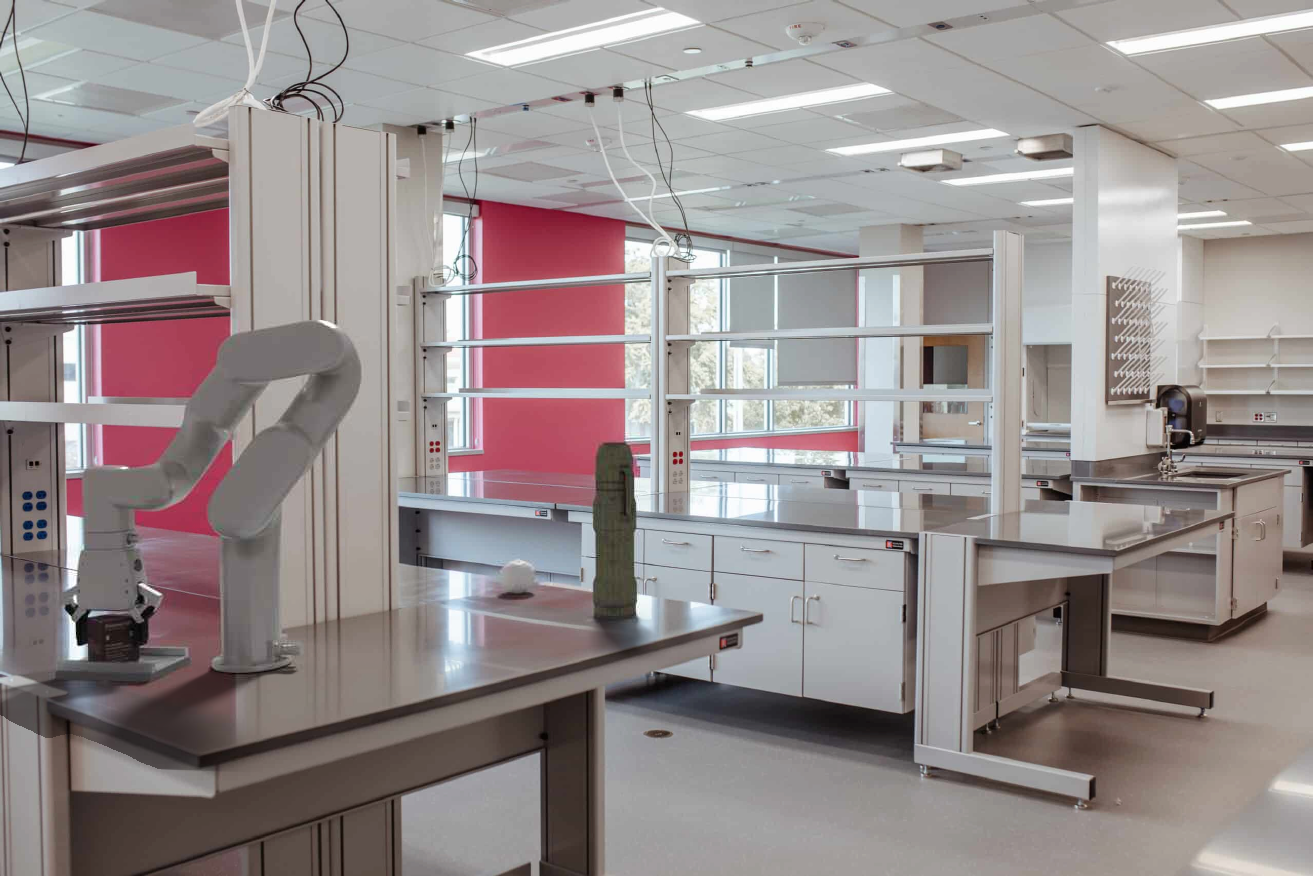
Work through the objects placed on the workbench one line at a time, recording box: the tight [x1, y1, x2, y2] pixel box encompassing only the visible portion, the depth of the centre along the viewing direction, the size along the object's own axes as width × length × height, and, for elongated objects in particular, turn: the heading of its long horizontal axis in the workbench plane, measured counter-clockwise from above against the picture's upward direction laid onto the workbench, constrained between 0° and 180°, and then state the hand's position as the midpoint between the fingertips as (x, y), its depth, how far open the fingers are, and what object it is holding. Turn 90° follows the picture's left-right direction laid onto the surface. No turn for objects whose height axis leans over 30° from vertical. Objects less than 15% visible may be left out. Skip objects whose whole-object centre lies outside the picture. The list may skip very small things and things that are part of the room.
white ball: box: [499, 559, 536, 595], centre depth 247 cm, size 8×8×8 cm
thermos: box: [592, 441, 638, 620], centre depth 223 cm, size 9×12×35 cm
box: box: [87, 611, 140, 661], centre depth 181 cm, size 6×6×7 cm
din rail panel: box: [54, 645, 191, 683], centre depth 181 cm, size 16×12×3 cm
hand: (112, 644), depth 181 cm, fingers open, 9 cm apart
